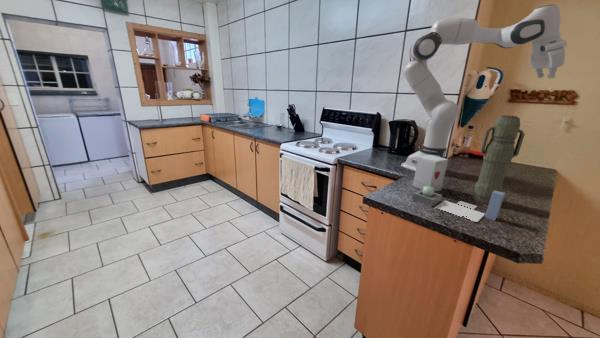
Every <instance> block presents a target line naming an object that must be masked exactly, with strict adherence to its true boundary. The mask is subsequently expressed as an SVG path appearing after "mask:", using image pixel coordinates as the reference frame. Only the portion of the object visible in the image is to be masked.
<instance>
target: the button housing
mask: <svg viewBox="0 0 600 338" xmlns="http://www.w3.org/2000/svg"><path fill="white" fill-rule="evenodd" d="M422 192H423V189H419V190H417V191H415V192H414V193H413V194H412V199H414V200H416V201H419V202H421V203H420V204H422V203H424V204H423V205H425V204H427V205H430V206H433V207H435V206H436V205H437V203H438V204H440V203H441V201H442V196H443V194H439V193H437V192H434V193H433V197H432V198H430V197H427V196H424V195H422ZM412 199H411V200H412ZM414 200H413V201H414ZM416 201H415V202H416ZM419 202H418V203H419ZM435 204H436V205H435ZM427 205H426V206H427ZM430 206H429V207H430Z"/></svg>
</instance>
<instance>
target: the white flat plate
mask: <svg viewBox="0 0 600 338" xmlns="http://www.w3.org/2000/svg"><path fill="white" fill-rule="evenodd" d="M436 208H438V209H440V210H439V211H441V210H443V211H442V212H444V211H446V212H449V213H452V214H454V215H453V216H455V215H457V216H460V217H462V216H464V217H465V218H467V219H470V220H471V221H474V222H477V223H478V222H480V221H481V219H482V218H483V217H485V214H486V213H483V212H481V211H479V210H476V209H474V210H473V209H470V208H467V207H464V206H461V205H458V204H457V203H455V202H451V201H448V200H443V201H442V202H439V203H438V205H437V204H436V205H435V206H434V209H436ZM438 209H437V210H438ZM446 212H445V213H446ZM449 213H448V214H449ZM452 214H451V215H452ZM457 216H456V217H457ZM466 216H467V217H466ZM460 217H459V218H460ZM471 221H470V222H471ZM474 222H473V223H474Z"/></svg>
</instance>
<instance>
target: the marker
mask: <svg viewBox="0 0 600 338" xmlns="http://www.w3.org/2000/svg"><path fill="white" fill-rule="evenodd" d="M505 194H506V193H505V192H503V191H502V192H499V191H495V190H494V191H493V192H492V195H491V198H490V201H489V205H487V208H486V212H485V213H484V214H485V215H484V218H485V217H487V218H486V219H488V218H489V219H488V220H491V219H492V220H491V221H494V220H495V221H496V220H497V219H498V216H499V213H500V210H501V206H502V204H503V201H504V198H505ZM496 218H497V219H496Z"/></svg>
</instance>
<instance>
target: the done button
mask: <svg viewBox="0 0 600 338" xmlns="http://www.w3.org/2000/svg"><path fill="white" fill-rule="evenodd" d="M433 193H435V192H434V188H433V187H430V186H424V187H423V192H422V195H424V196H427V197H430V198H432V197H433Z"/></svg>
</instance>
